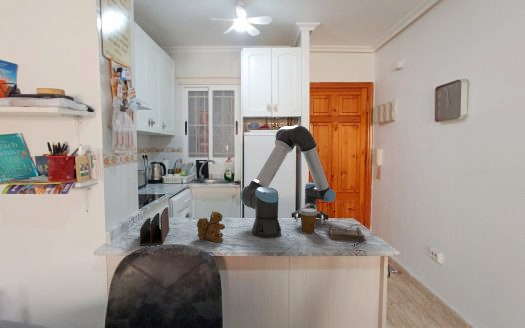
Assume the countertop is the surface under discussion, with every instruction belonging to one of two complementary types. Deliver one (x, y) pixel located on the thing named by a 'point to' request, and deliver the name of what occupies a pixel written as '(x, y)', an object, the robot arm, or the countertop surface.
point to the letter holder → (155, 229)
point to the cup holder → (346, 234)
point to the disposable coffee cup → (308, 220)
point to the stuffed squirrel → (211, 228)
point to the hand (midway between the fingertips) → (309, 220)
